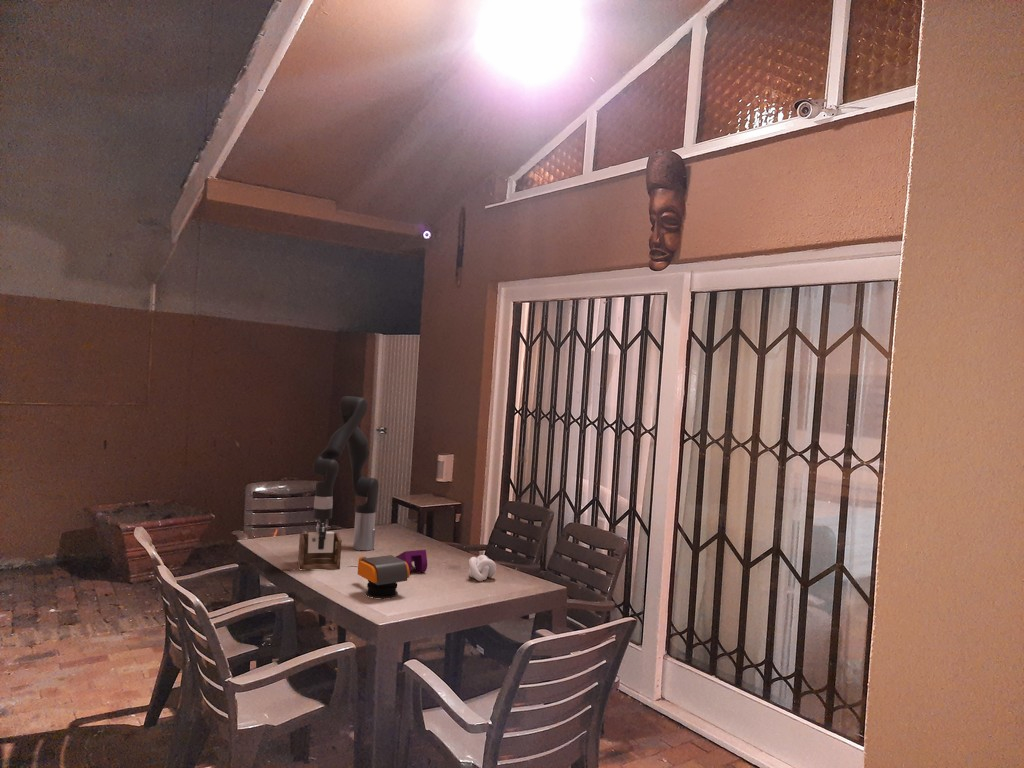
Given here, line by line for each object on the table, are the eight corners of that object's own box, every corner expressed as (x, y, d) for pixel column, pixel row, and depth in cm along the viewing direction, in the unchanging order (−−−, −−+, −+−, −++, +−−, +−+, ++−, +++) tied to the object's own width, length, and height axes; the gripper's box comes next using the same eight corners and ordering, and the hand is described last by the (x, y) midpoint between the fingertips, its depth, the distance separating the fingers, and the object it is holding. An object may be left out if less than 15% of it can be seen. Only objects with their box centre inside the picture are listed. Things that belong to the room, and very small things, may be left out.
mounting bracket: (390, 580, 295) (407, 572, 282) (388, 560, 298) (404, 551, 285) (411, 578, 300) (428, 569, 287) (408, 558, 303) (425, 549, 290)
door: (332, 550, 290) (333, 531, 290) (333, 553, 286) (334, 533, 286) (307, 551, 287) (308, 532, 287) (307, 553, 283) (309, 534, 283)
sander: (376, 579, 275) (378, 547, 275) (409, 596, 256) (411, 562, 256) (342, 584, 266) (344, 551, 266) (373, 602, 246) (375, 567, 246)
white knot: (483, 584, 277) (485, 562, 277) (459, 579, 283) (460, 557, 283) (498, 579, 286) (500, 557, 286) (474, 573, 293) (476, 552, 293)
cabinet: (336, 560, 300) (338, 532, 300) (339, 569, 286) (341, 540, 286) (298, 561, 294) (299, 533, 294) (299, 570, 281) (301, 540, 281)
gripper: (334, 509, 282) (331, 552, 282) (331, 503, 295) (328, 544, 295) (315, 509, 279) (312, 552, 279) (312, 503, 292) (310, 544, 292)
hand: (320, 548), depth 287 cm, fingers closed on door, 3 cm apart
